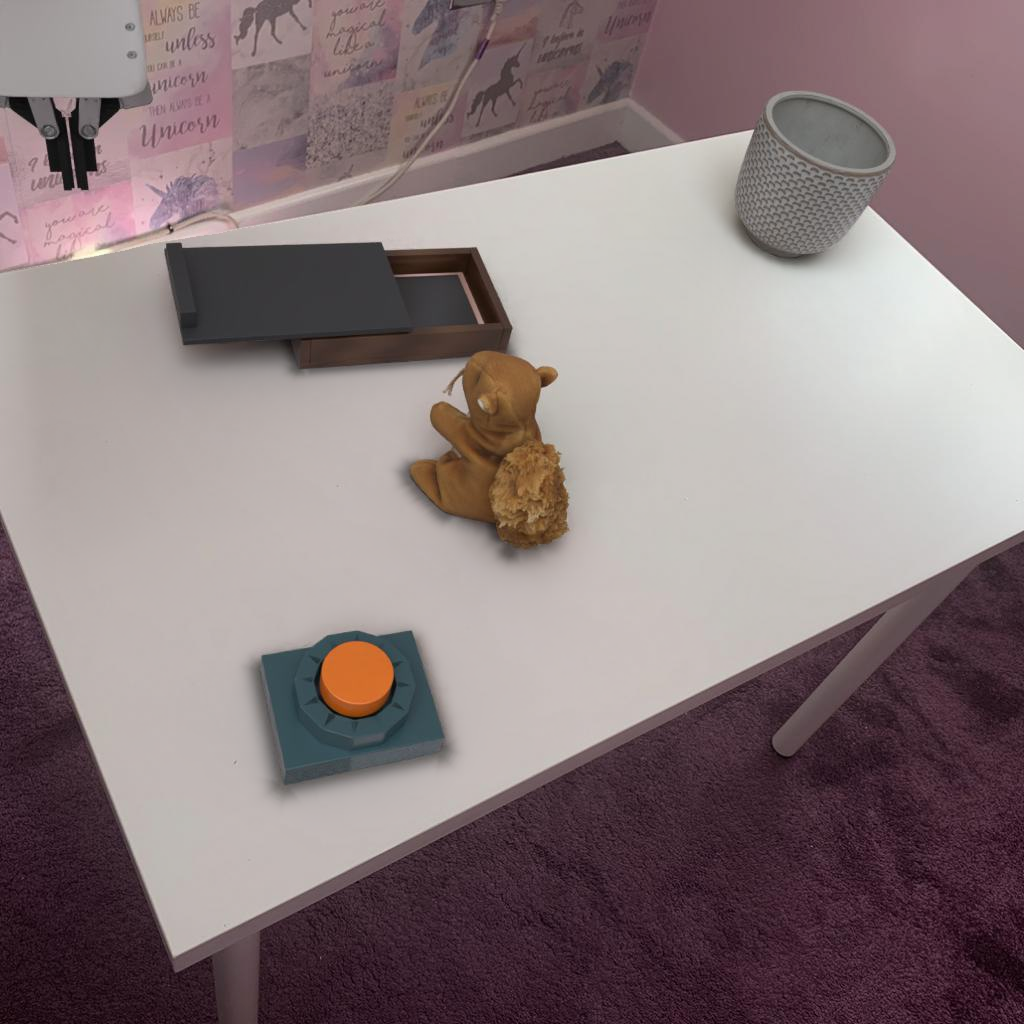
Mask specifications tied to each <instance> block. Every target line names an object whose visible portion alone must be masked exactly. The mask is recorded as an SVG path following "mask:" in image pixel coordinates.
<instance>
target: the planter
mask: <svg viewBox="0 0 1024 1024" xmlns="http://www.w3.org/2000/svg"><path fill="white" fill-rule="evenodd" d="M896 160H897V148H896V145H895V143H894V140H893V138H892V137H891V136H890V134H889V133H888V131H887V130H886V129H885V128H884V127H883V126H882V125H881V123H879V122H878V121H877V120H876V119H874V118H873V117H872V116H870V115H869V114H868V113H866V112H864V111H863V110H861V109H860V108H858V107H856V106H854V105H853V104H850V103H848V102H846V101H844V100H841V99H839V98H837V97H833V96H831V95H828V94H824V93H820V92H815V91H809V90H788V91H782V92H779V93H777V94H775V95H773V96H771V97H770V98H769V99H768V100H767V102H766V103H765V105H764V106H763V108H762V109H761V111H760V114H759V117H758V119H757V121H756V124H755V126H754V129H753V132H752V134H751V137H750V140H749V143H748V145H747V148H746V150H745V153H744V156H743V160H742V163H741V166H740V169H739V172H738V175H737V179H736V184H735V191H734V205H735V208H736V209H735V210H736V212H737V214H738V215H737V216H738V217H739V219H740V220H741V222H742V223H743V225H744V227H745V230H746V233H747V235H748V237H749V239H750V240H751V241H752V242H753V243H754V244H755V245H756V246H758V248H760V249H761V250H763V251H765V252H767V253H769V254H771V255H773V256H777V257H780V258H790V259H792V258H798V257H801V256H803V255H810V254H816V253H822V252H823V251H826V250H829V249H831V248H832V247H834V246H835V245H836V244H838V243H839V242H840V241H841V240H842V239H843V238H844V237H845V236H846V235H847V234H848V233H849V232H850V230H851V229H852V228H853V227H854V225H855V224H856V223H857V221H858V220H859V219H860V217H861V216H862V215H863V213H864V212H865V211H866V210H867V207H868V206H869V205H870V203H871V202H872V200H873V199H874V197H875V195H876V194H877V193H878V191H880V188H881V187H882V185H883V184H884V183H885V181H886V179H887V178H888V176H889V175H890V173H891V172H892V169H893V167H894V165H895V163H896Z"/></svg>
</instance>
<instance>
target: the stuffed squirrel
mask: <svg viewBox="0 0 1024 1024" xmlns="http://www.w3.org/2000/svg"><path fill="white" fill-rule="evenodd" d="M558 377H559V373H558V370H557V369H556V368H555V367H553V366H549V365H546V366H545V365H542V366H540V367H538V368H535V366H533V364H531V362H529V361H528V360H526V359H524V358H522V357H520V356H517V355H516V356H515V355H511V354H507V353H505V354H504V353H500V352H494V351H481V352H478V353H475V354H474V355H473V356H472V357H470V358H469V359H468V360H467V361H466V364H465V366H464V367H463V368H461V370H459V371H458V372H457V374H456V375H455V376H454V377H453V378H452V379H451V380H450V382H449V383H448V385H447V386H446V387H445V389H444V390H442V393H443V394H447V395H448V396H449V397H452V391H453V388H454V386H455V383H456V382H457V380H458V379H459V378H461V386H462V390H463V395H464V399H465V401H466V406H467V409H468V412H467V413H464V412H463V411H461V410H460V409H458V408H457V407H455V406H454V405H452V404H451V403H449V402H447V401H442V400H441V401H439V402H437V403H436V402H435V403H433V404H432V406H431V409H430V411H429V420H430V423H431V426H432V427H433V429H434V430H435V431H436V432H437V433H438V434H439V435H440V436H441V437H442V438H444V439H445V440H446V441H447V442H448V443H449V444H450V445H451V446H452V448H451V449H450V450H449V451H447V452H445V453H443V454H442V455H441V456H440V457H439V459H438V460H435V459H432V458H431V459H429V458H428V459H426V458H425V459H418V460H416V461H414V462H413V463H412V465H411V466H410V469H409V473H410V477H411V478H412V479H413V481H414V482H415V484H416V485H417V486H418V488H419V489H420V490H421V491H422V492H423V493H424V494H425V495H426V496H427V497H428V498H429V499H430V500H431V501H432V502H433V504H434V505H435V506H437V507H438V508H439V509H440V510H442V511H443V512H446V513H448V514H451V515H454V516H457V517H461V518H465V519H470V520H476V521H480V522H485V523H493V524H495V529H496V533H497V536H498V537H499V539H500V540H501V542H504V541H506V542H508V544H509V546H510V547H514V548H521V549H522V550H528V549H529V550H530V548H533V547H538V546H539V545H548V544H550V543H552V542H553V541H555V540H556V539H559V538H561V539H562V536H564V534H565V533H567V532H569V531H570V527H568V526H569V525H568V522H567V518H568V511H567V510H568V508H569V506H570V502H569V499H570V497H569V495H570V493H569V492H568V491H567V488H566V486H565V485H564V482H565V481H566V480H567V479H566V475H565V474H564V470H565V467H560V466H559V463H561V459H562V456H560V455H563V453H562V452H561V451H557V449H556V446H555V444H554V443H552V444H551V443H545V444H544V442H543V439H542V432H541V429H540V427H539V426H540V425H539V424H538V421H537V419H536V413H537V407H538V406H537V405H538V404H539V400H540V396H541V392H542V391H541V390H542V389H543V388H546V387H549V385H552V383H554V382H555V381H556V379H557V378H558ZM556 451H557V452H556Z"/></svg>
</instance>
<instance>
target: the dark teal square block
mask: <svg viewBox="0 0 1024 1024" xmlns="http://www.w3.org/2000/svg"><path fill="white" fill-rule="evenodd" d="M351 641H362V642H367V643H370V644H373V645H375V646H377V647H378V648H380V649H381V650H382V651H383V652H384V653H385V654H386V655H387V656H388V658H389V659H390V661H391V663H392V666H393V670H394V679H393V683H392V687H391V690H390V694H389V697H388V699H387V701H386V702H385V704H384V705H383V706H382V707H381V708H380V709H379V710H377V711H376V712H374V713H372V714H370V715H367V716H362V717H349V716H345V715H342V714H340V713H338V712H336V711H334V710H333V709H331V708H330V707H329V706H328V705H327V704H326V702H325V701H324V699H323V697H322V695H321V692H320V687H319V682H320V675H321V669H322V665H323V662H324V659H325V658H326V656H327V655H328V653H329V652H330V651H331V650H333V649H334V648H335V647H337V646H339V645H341V644H343V643H346V642H351ZM259 673H260V678H261V683H262V687H263V692H264V697H265V701H266V702H265V703H266V706H267V711H268V716H269V721H270V727H271V731H272V734H273V741H274V745H275V749H276V754H277V758H278V759H277V760H278V764H279V768H280V773H281V777H282V782H283V785H285V786H286V785H291V784H294V783H299V782H304V781H309V780H313V779H318V778H323V777H328V776H333V775H337V774H341V773H346V772H351V771H355V770H356V771H357V770H360V769H365V768H370V767H375V766H379V765H383V764H389V763H393V762H394V763H395V762H398V761H404V760H409V759H413V758H416V757H422V756H427V755H431V754H436V753H440V751H441V747H442V745H443V743H444V740H445V733H444V731H443V727H442V724H441V721H440V718H439V715H438V710H437V707H436V704H435V701H434V697H433V695H432V692H431V691H432V690H431V688H430V685H429V681H428V679H427V675H426V671H425V668H424V665H423V661H422V658H421V656H420V652H419V648H418V645H417V642H416V639H415V636H414V632H413V630H412V629H411V630H405V631H399V632H393V633H392V632H391V633H386V634H381V635H375V634H371V633H367V632H364V631H361V630H350V631H345V632H344V631H343V632H338V633H332V634H327V635H325V636H324V637H322V639H320V640H318V642H316V643H315V644H313V645H312V646H310V647H304V648H298V649H297V648H296V649H291V650H285V651H279V652H274V653H267V654H262V655H261V658H260V669H259Z"/></svg>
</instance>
